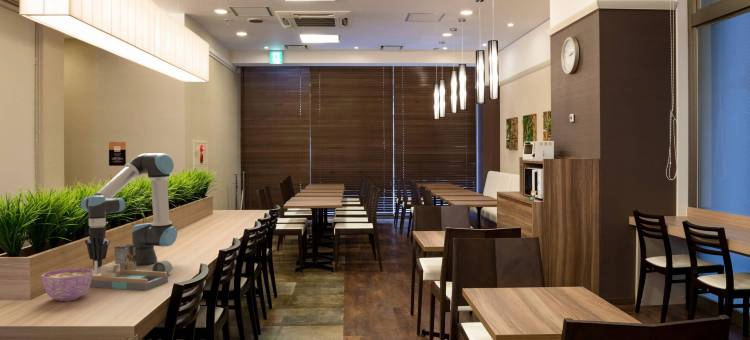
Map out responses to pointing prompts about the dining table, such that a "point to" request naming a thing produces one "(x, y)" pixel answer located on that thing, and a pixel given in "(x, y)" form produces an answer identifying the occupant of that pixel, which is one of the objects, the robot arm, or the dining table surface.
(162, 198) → the robot arm
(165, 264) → the ceramic mug
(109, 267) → the maple block
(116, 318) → the dining table surface
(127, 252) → the coffee box
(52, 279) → the bowl of food
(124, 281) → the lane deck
